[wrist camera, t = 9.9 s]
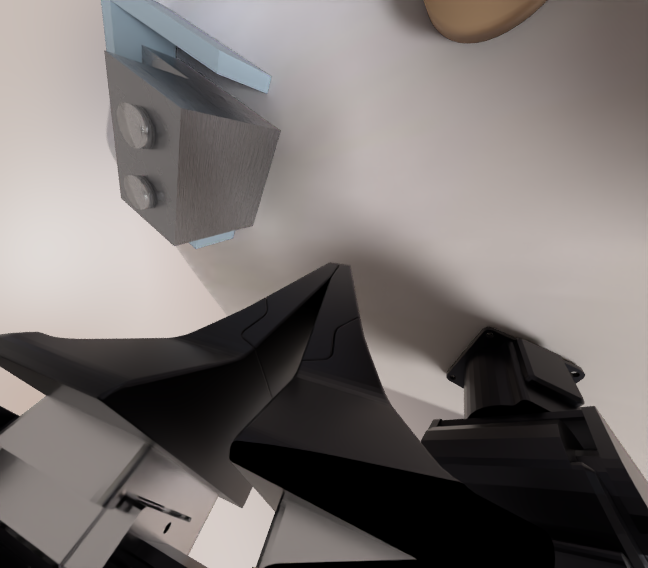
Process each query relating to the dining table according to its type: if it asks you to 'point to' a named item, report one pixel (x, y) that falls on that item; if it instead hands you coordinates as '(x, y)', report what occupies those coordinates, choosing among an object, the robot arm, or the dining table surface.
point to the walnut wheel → (478, 17)
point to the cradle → (174, 49)
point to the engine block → (186, 148)
